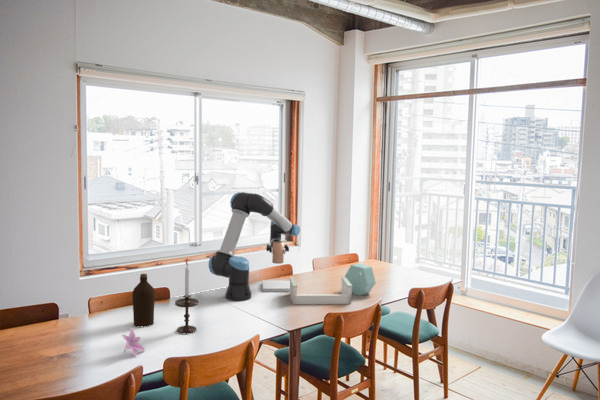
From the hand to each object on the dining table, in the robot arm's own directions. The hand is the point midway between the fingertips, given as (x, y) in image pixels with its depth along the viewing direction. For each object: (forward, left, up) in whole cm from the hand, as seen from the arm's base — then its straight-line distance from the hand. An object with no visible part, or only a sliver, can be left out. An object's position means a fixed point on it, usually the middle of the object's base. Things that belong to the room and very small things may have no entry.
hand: (278, 251), depth 308 cm
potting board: (0, +4, -24) cm, 24 cm away
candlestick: (-48, -69, -24) cm, 88 cm away
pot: (0, +3, -7) cm, 8 cm away
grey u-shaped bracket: (+24, -20, -24) cm, 39 cm away
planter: (+51, -8, -24) cm, 57 cm away
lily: (-68, -95, -24) cm, 119 cm away
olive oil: (-70, -59, -24) cm, 95 cm away
